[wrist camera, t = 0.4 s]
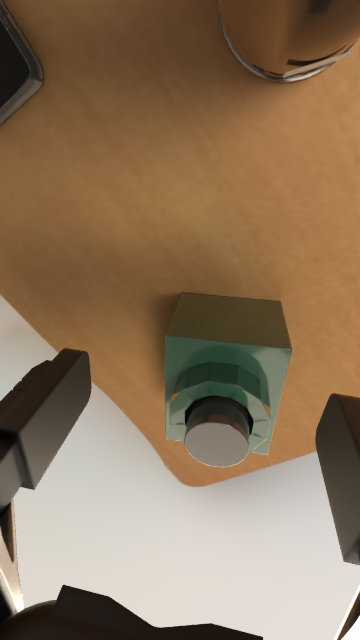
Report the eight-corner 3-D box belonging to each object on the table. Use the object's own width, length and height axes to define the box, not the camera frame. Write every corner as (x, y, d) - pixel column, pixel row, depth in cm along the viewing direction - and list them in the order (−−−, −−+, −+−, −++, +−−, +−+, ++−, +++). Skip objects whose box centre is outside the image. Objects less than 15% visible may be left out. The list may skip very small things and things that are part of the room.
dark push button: (190, 391, 23) (184, 417, 20) (252, 399, 22) (253, 427, 20) (188, 433, 25) (183, 461, 23) (245, 442, 24) (245, 472, 22)
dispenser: (182, 292, 30) (156, 353, 21) (281, 301, 28) (297, 369, 20) (180, 383, 35) (159, 460, 26) (263, 394, 34) (269, 479, 25)
